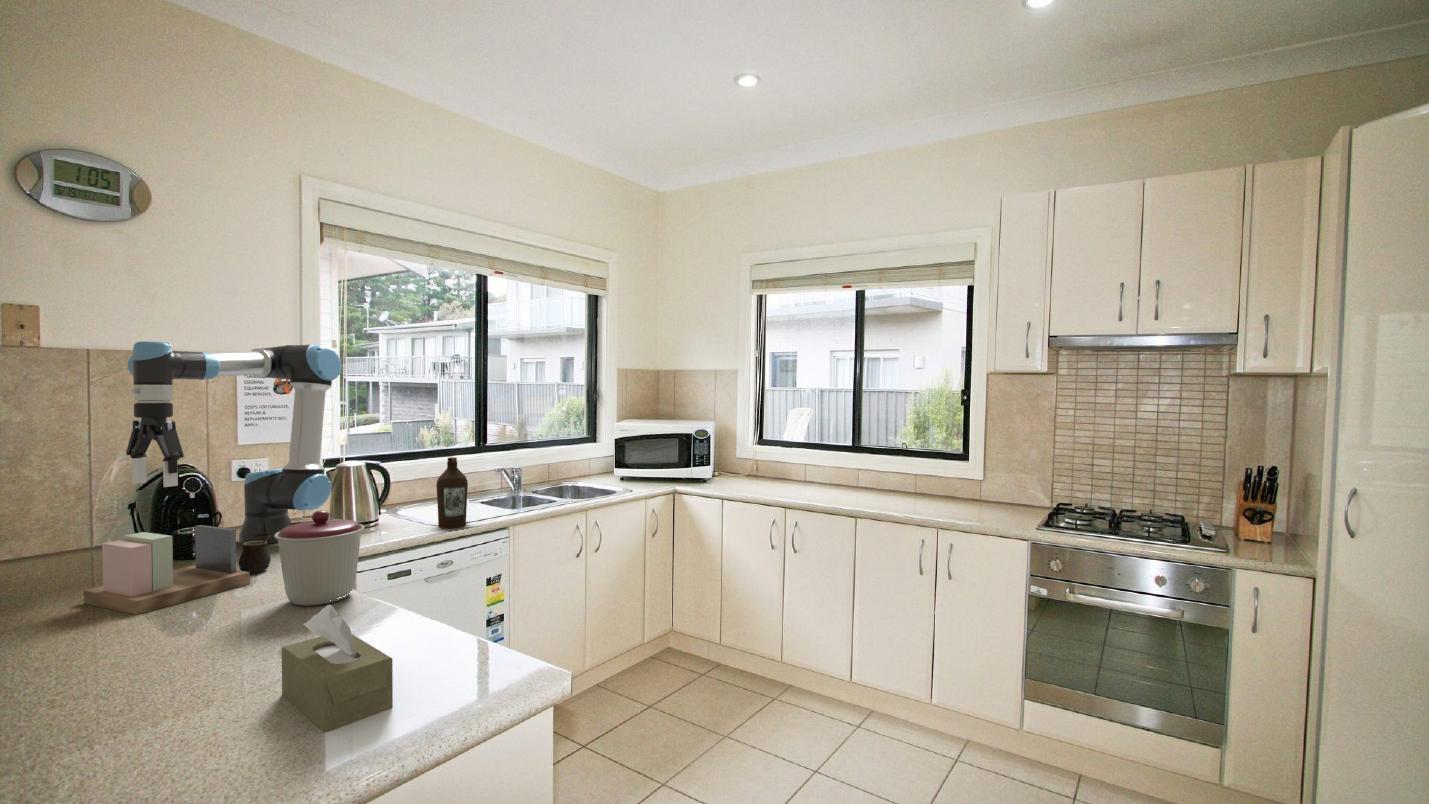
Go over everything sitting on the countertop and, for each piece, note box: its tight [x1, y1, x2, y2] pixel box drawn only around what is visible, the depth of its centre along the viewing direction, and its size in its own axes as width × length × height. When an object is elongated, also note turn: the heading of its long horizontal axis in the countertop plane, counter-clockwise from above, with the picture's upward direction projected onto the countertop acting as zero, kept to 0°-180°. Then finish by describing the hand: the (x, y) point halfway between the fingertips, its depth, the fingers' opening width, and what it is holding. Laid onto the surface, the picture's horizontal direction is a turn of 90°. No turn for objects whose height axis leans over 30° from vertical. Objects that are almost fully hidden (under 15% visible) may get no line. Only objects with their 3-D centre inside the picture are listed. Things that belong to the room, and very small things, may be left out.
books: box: [101, 531, 174, 597], centre depth 148 cm, size 8×11×12 cm
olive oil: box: [435, 456, 469, 529], centre depth 233 cm, size 11×11×25 cm
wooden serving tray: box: [83, 564, 251, 615], centre depth 155 cm, size 24×20×3 cm
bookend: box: [194, 524, 237, 574], centre depth 164 cm, size 1×14×11 cm, turn 69°
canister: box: [274, 510, 365, 607], centre depth 151 cm, size 18×18×21 cm
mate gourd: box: [238, 535, 272, 575], centre depth 173 cm, size 7×8×10 cm
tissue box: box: [281, 604, 394, 734], centre depth 102 cm, size 19×10×16 cm, turn 50°
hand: (155, 484), depth 163 cm, fingers open, 13 cm apart
